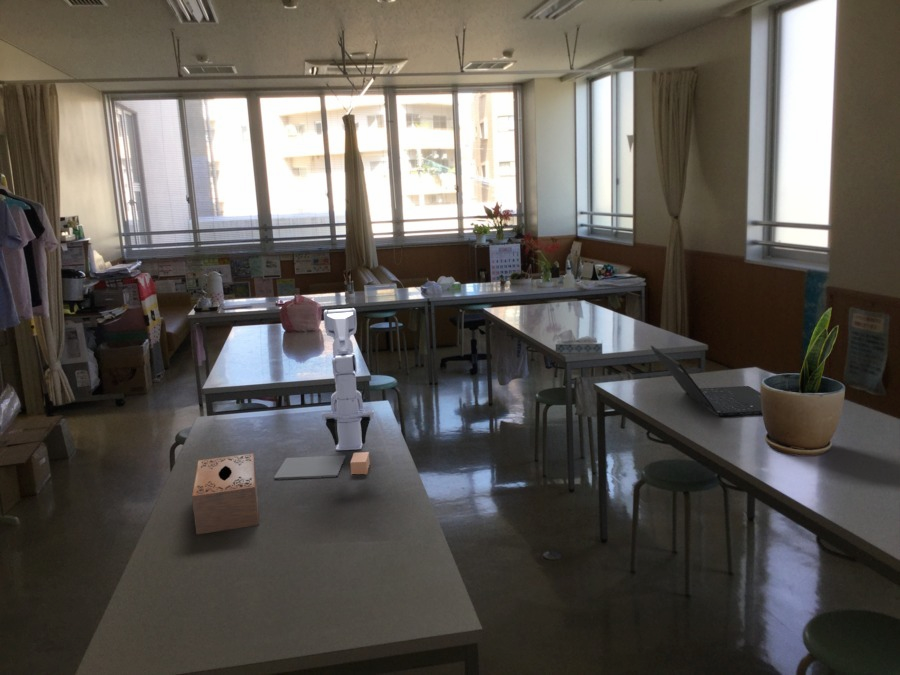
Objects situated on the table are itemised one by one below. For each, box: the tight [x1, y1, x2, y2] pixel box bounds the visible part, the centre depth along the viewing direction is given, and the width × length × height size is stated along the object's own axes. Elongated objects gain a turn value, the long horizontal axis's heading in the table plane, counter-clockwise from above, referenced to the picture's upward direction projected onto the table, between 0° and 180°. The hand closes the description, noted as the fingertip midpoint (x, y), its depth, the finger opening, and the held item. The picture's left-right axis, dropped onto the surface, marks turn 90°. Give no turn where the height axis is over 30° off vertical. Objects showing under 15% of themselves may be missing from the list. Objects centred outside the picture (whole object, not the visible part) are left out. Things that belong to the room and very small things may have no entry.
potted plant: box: [760, 307, 846, 457], centre depth 208 cm, size 21×22×40 cm
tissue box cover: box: [191, 452, 260, 535], centre depth 187 cm, size 26×14×10 cm, turn 16°
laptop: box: [650, 345, 763, 417], centre depth 257 cm, size 33×38×19 cm
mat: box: [273, 455, 347, 480], centre depth 214 cm, size 16×18×1 cm
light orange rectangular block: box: [349, 451, 371, 476], centre depth 211 cm, size 8×4×4 cm, turn 0°
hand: (350, 443), depth 207 cm, fingers open, 7 cm apart
